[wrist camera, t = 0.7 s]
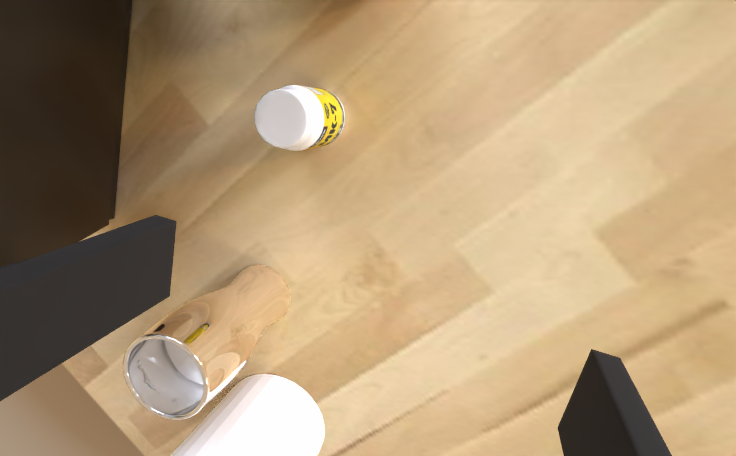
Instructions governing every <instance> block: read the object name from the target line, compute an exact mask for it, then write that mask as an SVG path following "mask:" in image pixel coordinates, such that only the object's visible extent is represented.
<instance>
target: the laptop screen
mask: <svg viewBox="0 0 736 456" xmlns="http://www.w3.org/2000/svg"><path fill="white" fill-rule="evenodd" d="M125 9H126V0H0V267H2V266H5V265H7V264H10V263H16V262H22V261H25V260H28V259H31V258H34V257H37V256H39V255H42V254H45V253H48V252H51V251H54V250H57V249H60V248H62V247H65V246H68V245H71V244H74V243H77V242H79V241H81V240H82V239H84V238H86V237H88V236H89V235H91V234H93V233H95V232H96V231H98V230H100V229H102V228H103V227H105V226H107V225H109V215H110V202H111V190H112V177H113V164H114V151H115V138H116V125H117V112H118V99H119V86H120V73H121V61H122V48H123V35H124V22H125Z"/></svg>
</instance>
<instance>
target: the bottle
mask: <svg viewBox="0 0 736 456" xmlns="http://www.w3.org/2000/svg"><path fill="white" fill-rule="evenodd" d="M324 434H325V429H324V421H323V418H322V414H321V412H320V410H319V408H318V406H317V404H316V403H315V401H314V400H313V399H312V397H311V396H310V395H309V394H308V393H307V392H306V391H305V390H304V389H303V388H301V387H300V386H298V385H297V384H296V383H294V382H292V381H290V380H288V379H286V378H284V377H280V376H277V375H272V374H256V375H252V376H249V377H246V378H244V379H243V380H241V381H239V382H238V383H237V384H236V385H235V386H234V387H233V388H232V389H231V390H230V391H229V393H228V394H227V395H226V396H225V397H224V398H223V399H222V400H221V401H220V402H219V403H218V404H217V405H216V407H215V408H214V409H213V410H212V411H211V412H210V413H209V414H208V415H207V416H206V417H205V418H204V420H203V421H202V422H201V423H200V424H199V425H198V426H197V427H196V428H195V429H194V430H193V431H192V432H191V434H190V435H189V436H188V437H187V438H186V439H185V440H184V441H183V442H182V443H181V444H180V445H179V446H178V448H177V449H176V450H175V451H174V452H173V453H172V454H171V455H170V456H317V455H318V453H319V451H320V448H321V446H322V443H323V441H324Z"/></svg>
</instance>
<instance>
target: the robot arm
mask: <svg viewBox="0 0 736 456" xmlns="http://www.w3.org/2000/svg"><path fill="white" fill-rule="evenodd" d="M175 232H176V221H174V220H170V219H167V218H164V217H161V216H157V215H154V216H152V217H149V218H146V219H143V220H140V221H137V222H134V223H131V224H129V225H126V226H123V227H120V228H117V229H114V230H111V231H108V232H106V233H103V234H100V235H97V236H94V237H91V238H88V239H85V240H83V241H80V242H77V243H74V244H71V245H68V246H65V247H62V248H60V249H57V250H54V251H51V252H48V253H45V254H42V255H39V256H37V257H34V258H31V259H28V260H25V261H22V262H16V263H10V264H7V265H5V266H2V267H0V401H1V400H3V399H4V398H6V397H8V396H9V395H11V394H13V393H14V392H16V391H17V390H19V389H21V388H22V387H24V386H26V385H27V384H29V383H30V382H32V381H34V380H35V379H37V378H38V377H40V376H42V375H43V374H45V373H47V372H48V371H50V370H51V369H53V368H55V367H56V366H58V365H59V364H61V363H63V362H64V361H66V360H67V359H69V358H71V357H72V356H74V355H76V354H77V353H79V352H80V351H82V350H84V349H85V348H87V347H88V346H90V345H92V344H93V343H95V342H96V341H98V340H100V339H101V338H103V337H105V336H106V335H108V334H109V333H111V332H113V331H114V330H116V329H117V328H119V327H121V326H122V325H124V324H125V323H127V322H129V321H130V320H132V319H134V318H135V317H137V316H138V315H140V314H142V313H143V312H145V311H146V310H148V309H150V308H151V307H153V306H154V305H156V304H158V303H159V302H161V301H163V300H164V299H166V298H167V297H169V296H170V286H171V275H172V264H173V253H174V242H175ZM558 431H559V436H560V440H561V445H562V449H563V454H564V456H672V455H671V453H670V451H669V450H668V448H667V446H666V444H665V442H664V440H663V438H662V436H661V434H660V433H659V431H658V429H657V427H656V425H655V423H654V421H653V419H652V417H651V416H650V414H649V412H648V410H647V408H646V406H645V404H644V402H643V400H642V399H641V397H640V395H639V393H638V391H637V389H636V387H635V385H634V383H633V382H632V380H631V378H630V376H629V374H628V372H627V370H626V368H625V366H624V365H623V363H622V361H621V359H620V358H618V357H615V356H612V355H609V354H605V353H602V352H599V351H596V350H592V349H591V352H590V354H589V356H588V358H587V361H586V363H585V365H584V368H583V370H582V372H581V375H580V377H579V379H578V382H577V384H576V386H575V389H574V391H573V393H572V396H571V398H570V400H569V403H568V405H567V407H566V410H565V412H564V414H563V417H562V419H561V421H560V423H559V426H558Z"/></svg>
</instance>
